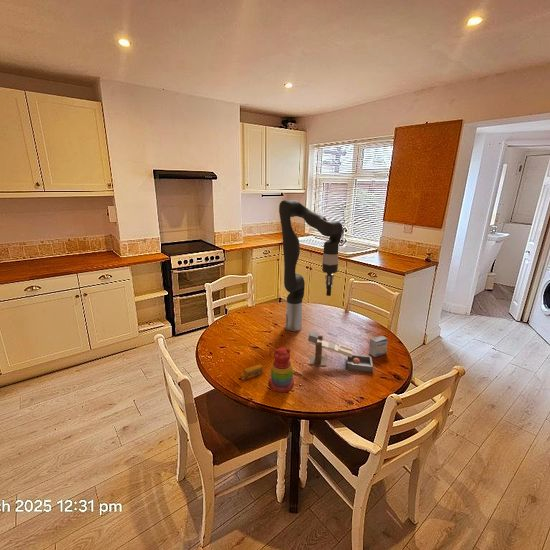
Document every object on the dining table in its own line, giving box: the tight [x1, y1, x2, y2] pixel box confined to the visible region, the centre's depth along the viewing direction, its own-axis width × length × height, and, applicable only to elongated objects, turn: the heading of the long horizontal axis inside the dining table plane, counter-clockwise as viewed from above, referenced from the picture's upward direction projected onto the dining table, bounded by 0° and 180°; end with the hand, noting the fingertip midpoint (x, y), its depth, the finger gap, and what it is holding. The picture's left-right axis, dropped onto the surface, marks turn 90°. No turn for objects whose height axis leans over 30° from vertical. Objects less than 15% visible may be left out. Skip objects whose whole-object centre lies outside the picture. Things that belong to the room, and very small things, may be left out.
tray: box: [344, 354, 374, 374], centre depth 142 cm, size 12×9×3 cm
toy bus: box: [240, 364, 263, 381], centre depth 135 cm, size 3×10×4 cm, turn 121°
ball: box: [353, 358, 360, 364], centre depth 142 cm, size 3×3×3 cm
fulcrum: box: [309, 334, 328, 367], centre depth 144 cm, size 8×8×12 cm
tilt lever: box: [307, 330, 354, 358], centre depth 142 cm, size 22×6×4 cm, turn 78°
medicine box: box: [368, 335, 388, 358], centre depth 151 cm, size 8×4×9 cm, turn 118°
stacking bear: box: [268, 347, 295, 393], centre depth 126 cm, size 11×10×18 cm
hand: (328, 295), depth 151 cm, fingers closed
